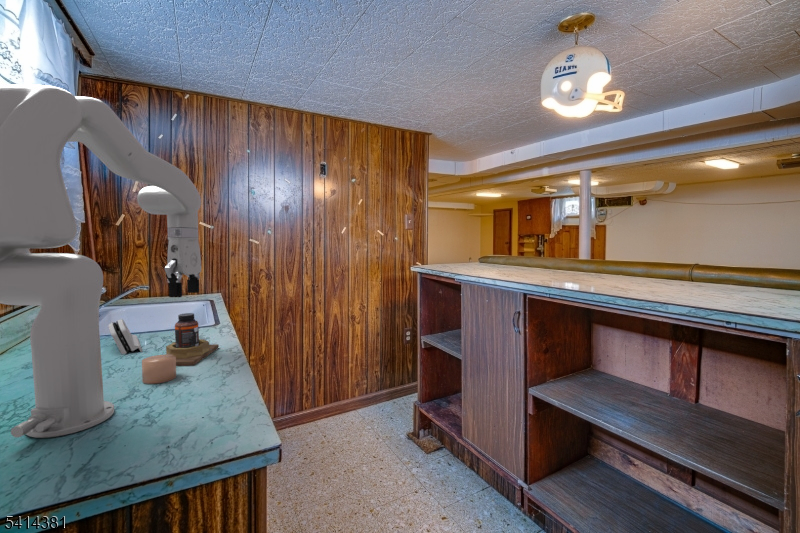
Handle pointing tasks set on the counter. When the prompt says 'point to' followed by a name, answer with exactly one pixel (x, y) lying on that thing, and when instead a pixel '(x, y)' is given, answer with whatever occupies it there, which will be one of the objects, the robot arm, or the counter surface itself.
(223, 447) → the counter surface
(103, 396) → the robot arm
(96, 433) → the counter surface
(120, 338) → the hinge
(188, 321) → the supplement bottle
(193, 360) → the holder plate
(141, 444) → the counter surface
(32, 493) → the counter surface
